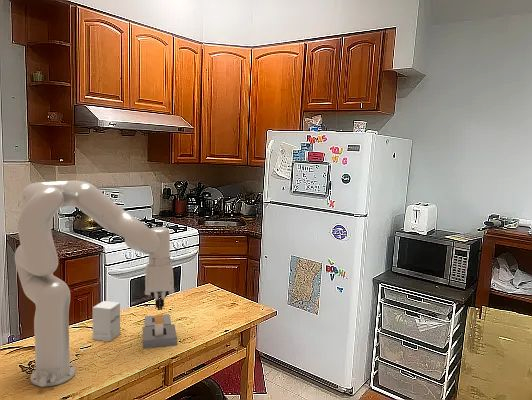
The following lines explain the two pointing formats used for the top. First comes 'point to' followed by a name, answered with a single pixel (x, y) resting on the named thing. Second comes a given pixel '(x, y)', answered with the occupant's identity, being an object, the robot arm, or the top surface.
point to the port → (159, 337)
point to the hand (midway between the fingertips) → (159, 308)
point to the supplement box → (106, 320)
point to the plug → (158, 325)
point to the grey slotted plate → (151, 319)
